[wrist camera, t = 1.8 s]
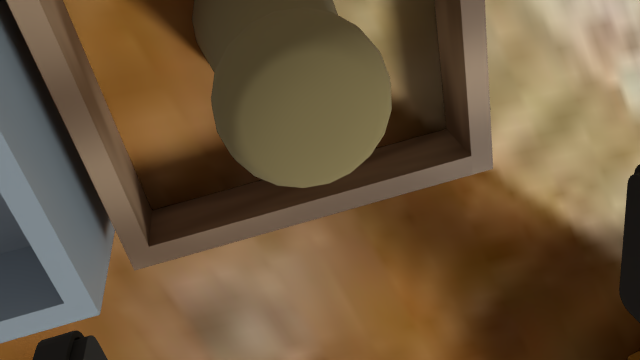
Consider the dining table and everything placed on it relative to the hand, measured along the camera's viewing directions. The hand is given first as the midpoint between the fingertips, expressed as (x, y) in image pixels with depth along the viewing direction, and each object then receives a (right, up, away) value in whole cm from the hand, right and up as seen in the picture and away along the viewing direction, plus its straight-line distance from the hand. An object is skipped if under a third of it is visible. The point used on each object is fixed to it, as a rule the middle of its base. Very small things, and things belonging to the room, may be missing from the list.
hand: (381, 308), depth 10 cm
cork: (-3, +9, +15) cm, 18 cm away
